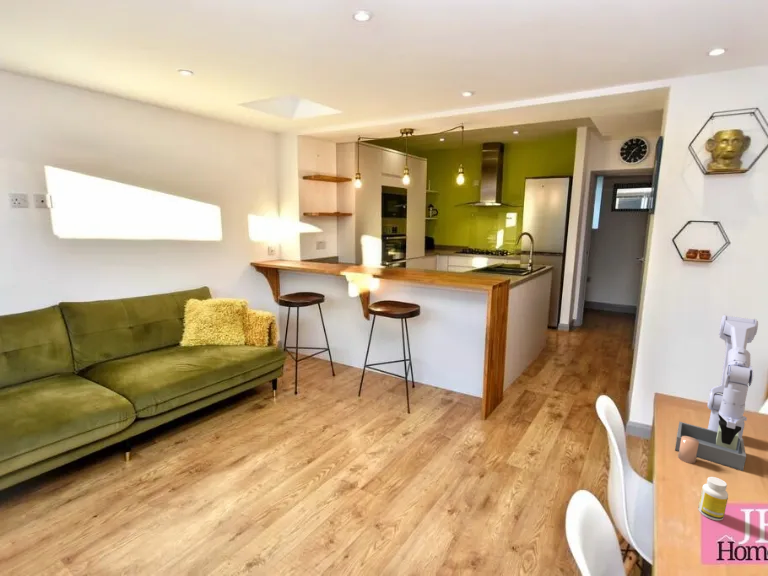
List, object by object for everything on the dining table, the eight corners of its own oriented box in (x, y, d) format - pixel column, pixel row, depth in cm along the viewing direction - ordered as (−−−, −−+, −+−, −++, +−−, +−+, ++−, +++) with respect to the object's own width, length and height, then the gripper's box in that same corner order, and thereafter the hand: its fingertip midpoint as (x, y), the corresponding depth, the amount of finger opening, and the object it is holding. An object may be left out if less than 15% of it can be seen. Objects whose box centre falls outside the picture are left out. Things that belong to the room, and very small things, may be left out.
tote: (740, 452, 140) (743, 438, 139) (743, 471, 129) (746, 456, 128) (677, 434, 150) (679, 421, 149) (675, 450, 139) (677, 436, 138)
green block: (716, 438, 140) (718, 425, 139) (735, 444, 137) (738, 430, 136) (715, 444, 136) (718, 430, 135) (735, 450, 133) (738, 436, 132)
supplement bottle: (728, 523, 107) (735, 489, 105) (704, 519, 108) (711, 486, 106) (716, 508, 112) (722, 476, 110) (693, 505, 113) (699, 473, 111)
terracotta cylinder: (688, 455, 137) (691, 436, 136) (698, 463, 132) (702, 443, 131) (674, 454, 137) (678, 435, 135) (684, 463, 132) (688, 443, 131)
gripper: (751, 413, 125) (743, 454, 128) (747, 397, 137) (739, 435, 139) (721, 406, 130) (714, 445, 132) (720, 391, 141) (713, 427, 143)
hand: (725, 439), depth 136 cm, fingers closed on green block, 5 cm apart
